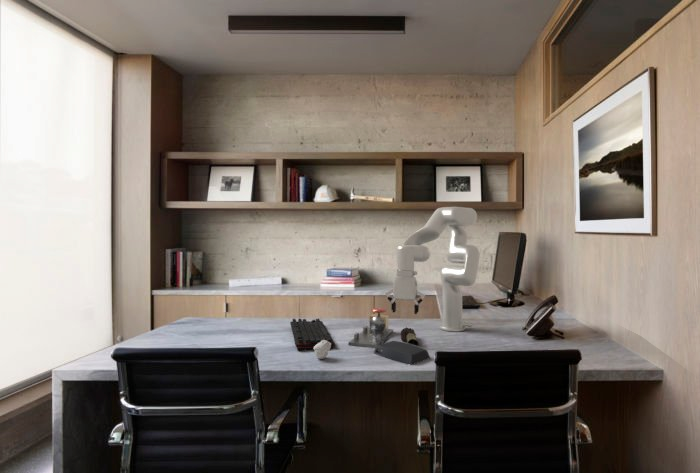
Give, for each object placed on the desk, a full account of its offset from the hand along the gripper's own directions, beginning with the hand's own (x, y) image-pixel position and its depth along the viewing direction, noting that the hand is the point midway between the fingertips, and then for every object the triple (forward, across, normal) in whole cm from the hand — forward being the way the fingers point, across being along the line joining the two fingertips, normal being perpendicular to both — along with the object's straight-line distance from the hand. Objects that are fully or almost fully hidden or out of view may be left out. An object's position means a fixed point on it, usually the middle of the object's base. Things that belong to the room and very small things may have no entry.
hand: (404, 312), depth 174 cm
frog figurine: (+14, +26, +31) cm, 43 cm away
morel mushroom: (+14, -2, -1) cm, 14 cm away
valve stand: (+13, +16, -3) cm, 21 cm away
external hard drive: (+14, -2, +18) cm, 23 cm away
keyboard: (+14, +44, +4) cm, 46 cm away
